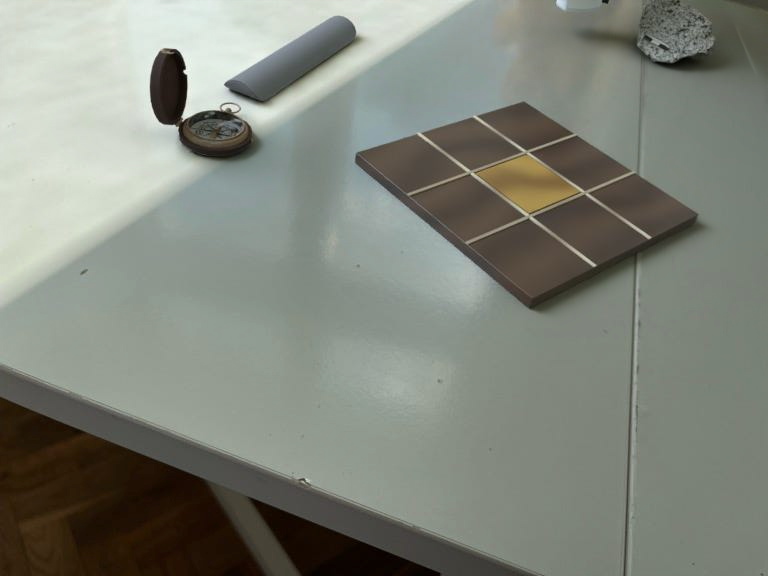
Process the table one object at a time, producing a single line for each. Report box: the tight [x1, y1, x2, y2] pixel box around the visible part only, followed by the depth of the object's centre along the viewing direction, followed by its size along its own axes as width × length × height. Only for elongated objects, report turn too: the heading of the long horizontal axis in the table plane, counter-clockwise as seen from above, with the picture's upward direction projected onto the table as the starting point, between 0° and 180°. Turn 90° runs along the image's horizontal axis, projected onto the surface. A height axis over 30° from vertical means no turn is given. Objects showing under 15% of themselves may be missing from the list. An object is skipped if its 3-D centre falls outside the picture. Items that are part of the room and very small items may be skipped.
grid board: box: [354, 101, 700, 309], centre depth 67 cm, size 21×21×1 cm
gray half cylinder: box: [223, 15, 357, 102], centre depth 79 cm, size 4×20×2 cm, turn 153°
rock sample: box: [636, 0, 717, 65], centre depth 93 cm, size 10×8×9 cm
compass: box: [149, 47, 254, 158], centre depth 65 cm, size 8×8×7 cm
